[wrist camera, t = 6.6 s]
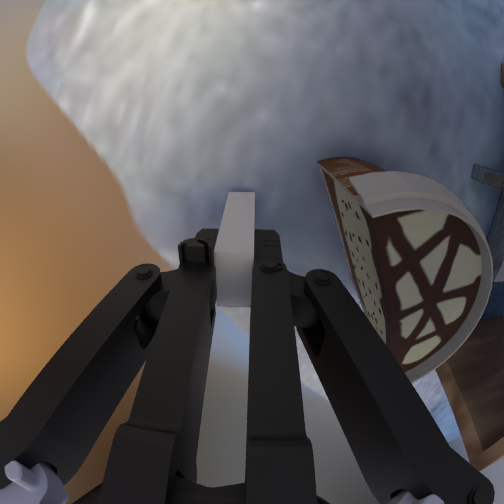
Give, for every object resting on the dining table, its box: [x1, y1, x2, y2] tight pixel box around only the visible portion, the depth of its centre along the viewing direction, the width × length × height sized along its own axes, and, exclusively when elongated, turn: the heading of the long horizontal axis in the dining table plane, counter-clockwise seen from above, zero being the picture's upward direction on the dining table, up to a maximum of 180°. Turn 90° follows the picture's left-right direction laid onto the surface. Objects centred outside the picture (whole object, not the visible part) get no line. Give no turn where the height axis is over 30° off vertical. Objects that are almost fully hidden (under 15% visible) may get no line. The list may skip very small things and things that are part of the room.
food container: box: [317, 157, 493, 383], centre depth 14 cm, size 12×6×10 cm, turn 22°
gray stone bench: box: [471, 165, 504, 282], centre depth 17 cm, size 10×6×3 cm
